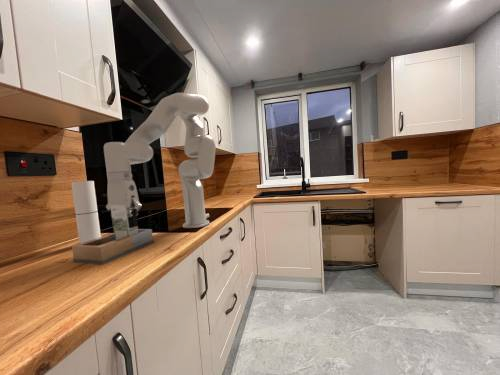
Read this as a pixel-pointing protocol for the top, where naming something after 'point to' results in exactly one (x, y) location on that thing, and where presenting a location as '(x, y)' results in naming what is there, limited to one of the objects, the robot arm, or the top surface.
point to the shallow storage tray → (110, 247)
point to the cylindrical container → (86, 210)
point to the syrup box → (121, 222)
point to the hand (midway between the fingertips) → (125, 226)
